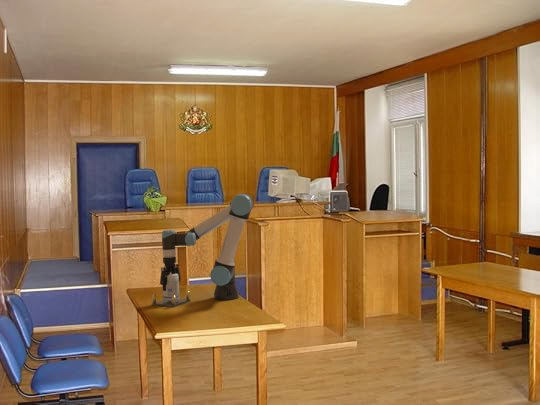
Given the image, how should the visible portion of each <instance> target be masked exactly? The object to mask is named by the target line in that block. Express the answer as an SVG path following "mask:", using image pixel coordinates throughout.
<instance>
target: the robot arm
mask: <svg viewBox="0 0 540 405" xmlns="http://www.w3.org/2000/svg"><path fill="white" fill-rule="evenodd" d="M254 206H255V201H254V198H253V197H252V196H251V195H250V194H248V193H239V194H236V195H235V196H234V197H233V198H232V199H231V202H229V203H228V205H227V206H226V207H224V208H223V209H221V210H219V211H218V212H216V213H215V214H213V215H211V216H209V217H208V218H207V219H205V220H204V221H202V222H200V223H198V224H197V225H195V226H194V227H193V228H190V229H189V230H187V231H185V232H181V233H180V232H175V230H174V229H165V230H162V231H161V246H162V256H163V257H162V263H163V264H164V266H163V267H162V266H161V267H160V272H161V273H160V277H159V278H160V279H159V285H161V286H162V285H163V289H162V297H163V296H168V285H166V284H167V277H165V276H169V274H170V273H171V274H178V276H179V283H180V282H181V279H182V278H181V274H180V269H179V264H178V263H177V256H176V255H177V252H176V251H177V250H176V247H191V246H192V247H193V246H195V245H196V244H197V241H198V240H199V239H201V238H203V237H204V236H206V235H208V234H209V233H211V232H213V231H214V230H216V229H217V228H219V227H221V226H222V225H224V224H225V223H227V222H228V225H227V228H226V232H225V235H224V239H223V243H222V245H221V249H220V251H219V256H218V257H217V258H215V259H214V260H215V261H214V263H213V265H212V266H213V267H212V268H211V270H210V273H209V274H210V275H209V277H210V280H211V281H212V283H213V284H214V285H216V286H215V289H214V293H213V299H214V300H217V301H218V300H219V301H229V300H230V301H231V300H236V299H238V298H239V297H240V293H239V290H238V288H237V284H236V263H235V256H236V252H237V249H238V246H239V243H240V239H241V236H242V233H243V230H244V227H245V224H246V223H245V222H247V221H249V218H250V216H251V215H250V214H251V211H252V210H253V208H254Z"/></svg>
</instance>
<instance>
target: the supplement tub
mask: <svg viewBox="0 0 540 405" xmlns="http://www.w3.org/2000/svg"><path fill="white" fill-rule="evenodd" d="M165 277H167V284H166V285H168V296H163V295H162V300H165V301H172V296H175V299H176V300H178V299H180V285H179V284H180V282H179V276H178V274H171V273H170V274H169V276H165ZM161 286H162V287H161V288H162V290H163V285H161Z"/></svg>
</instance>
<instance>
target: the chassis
mask: <svg viewBox="0 0 540 405" xmlns="http://www.w3.org/2000/svg"><path fill="white" fill-rule="evenodd" d="M185 293H186V294H185V297H186V298H179V299H178V300H176V299H175V296H172V301H165V300H163V299H161V300H157V296H156V293H154V294H151V296H152V300H151V301H152V303H151V305H152V306H154V305H155V306H156V307H167V308H176V307H178V306H181V305H186V304H188V303H191V297H190V296H191V295H190V293H191V292H190V290H186V292H185ZM155 306H154V307H155Z"/></svg>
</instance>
